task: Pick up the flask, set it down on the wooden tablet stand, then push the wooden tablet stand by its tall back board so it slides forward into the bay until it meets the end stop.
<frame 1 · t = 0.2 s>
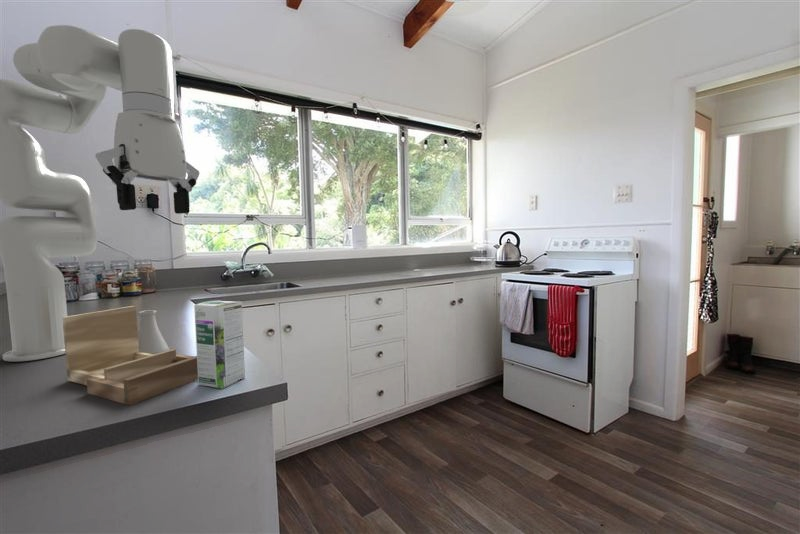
hand: (156, 211, 65), 31 cm above the counter, tool pointing down, fingers open, 9 cm apart
wooden tablet stand: (122, 343, 70), point 6 cm above the counter, slide at 0.0 cm
flask: (150, 355, 83), on the counter
syrup box: (222, 382, 67), on the counter
bay: (155, 382, 67), on the counter
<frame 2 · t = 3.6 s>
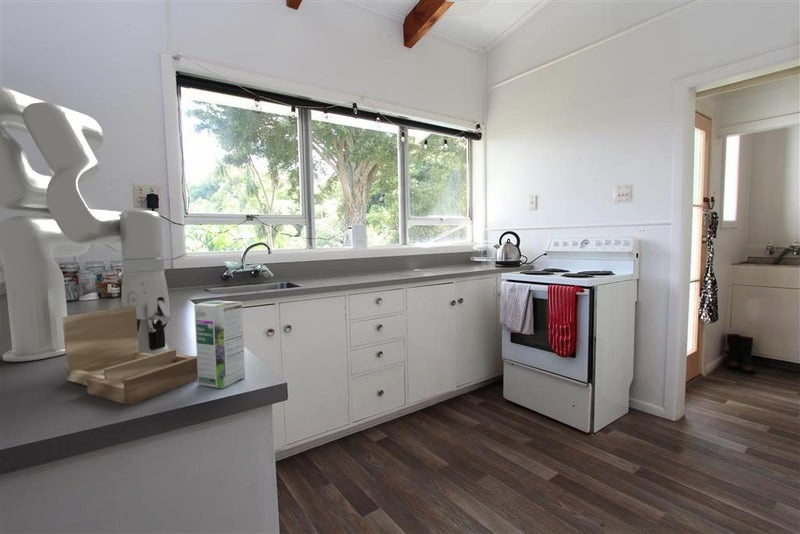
hand: (149, 346, 83), 2 cm above the counter, tool pointing down, fingers closed on flask, 4 cm apart
flask: (150, 355, 83), on the counter, touching gripper
everything else where it was.
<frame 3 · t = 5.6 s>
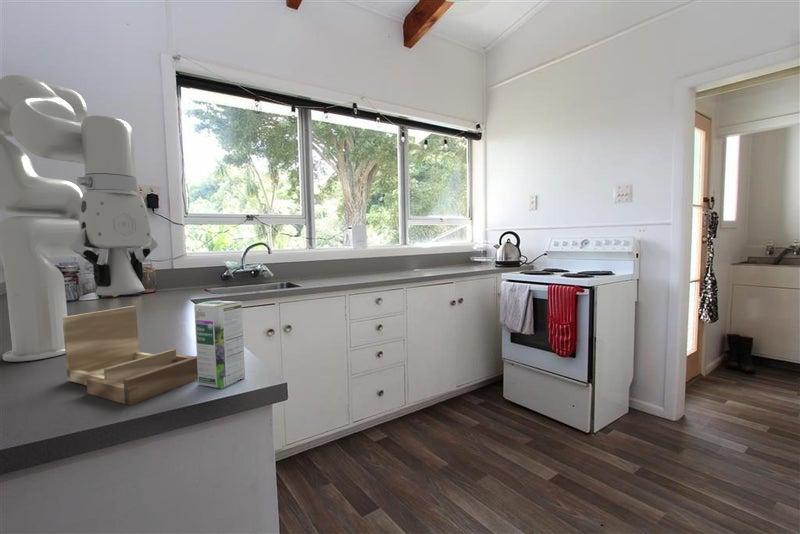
hand: (120, 283, 70), 18 cm above the counter, tool pointing down, fingers closed on flask, 4 cm apart
flask: (121, 294, 70), point 15 cm above the counter, touching gripper
everything else where it was.
when the fingers open (4 cm above the counter, at t = 7.5 s): flask drops 1 cm, resting on wooden tablet stand.
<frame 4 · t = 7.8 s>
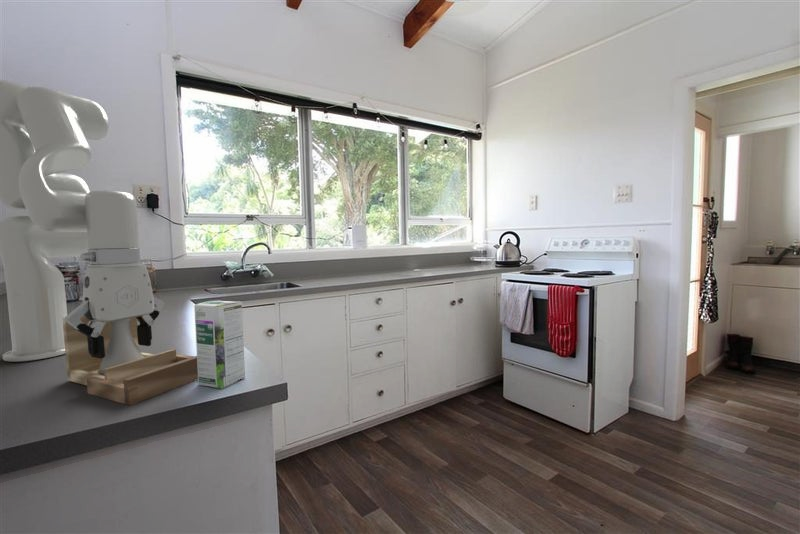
hand: (122, 350, 70), 5 cm above the counter, tool pointing down, fingers open, 7 cm apart
wooden tablet stand: (122, 343, 70), point 6 cm above the counter, slide at 0.0 cm, touching flask
flask: (123, 370, 71), point 1 cm above the counter, touching wooden tablet stand
everything else where it was.
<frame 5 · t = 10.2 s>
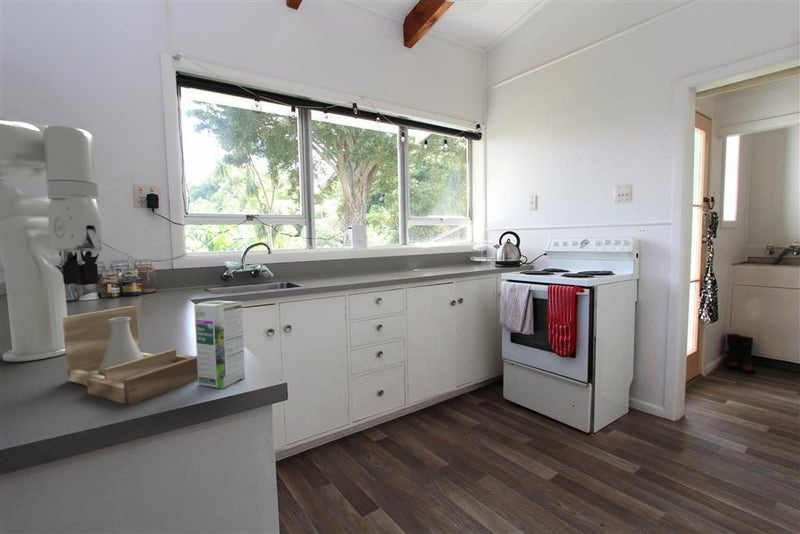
hand: (81, 283, 74), 17 cm above the counter, tool pointing down, fingers open, 4 cm apart
nothing on the counter moved.
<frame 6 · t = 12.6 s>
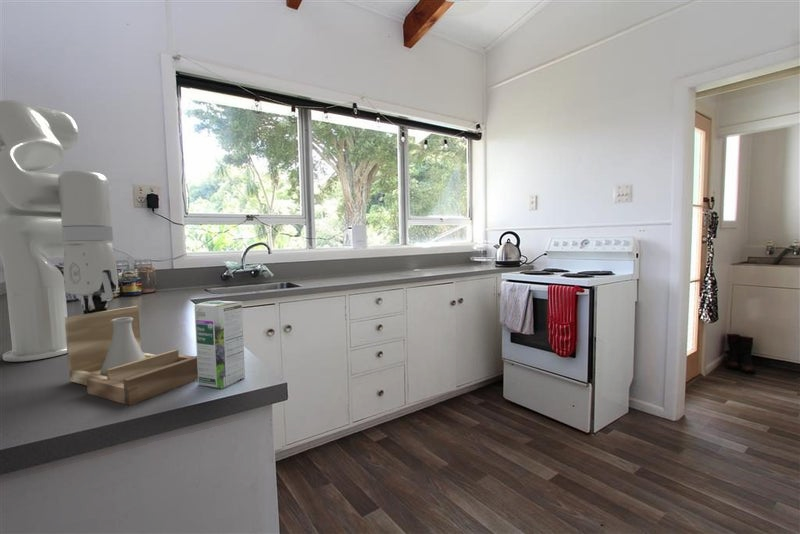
hand: (96, 328, 73), 8 cm above the counter, tool pointing down, fingers closed
wooden tablet stand: (124, 344, 70), point 6 cm above the counter, slide at 0.8 cm, touching gripper, flask
everything else where it was.
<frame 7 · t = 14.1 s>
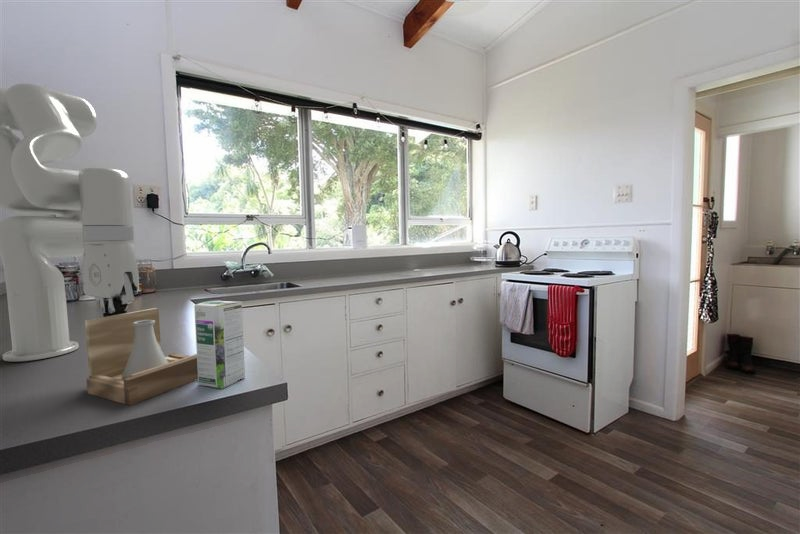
hand: (116, 331, 71), 8 cm above the counter, tool pointing down, fingers closed
wooden tablet stand: (146, 348, 67), point 6 cm above the counter, slide at 7.4 cm, touching gripper, flask
flask: (147, 376, 67), point 1 cm above the counter, touching wooden tablet stand
everything else where it was.
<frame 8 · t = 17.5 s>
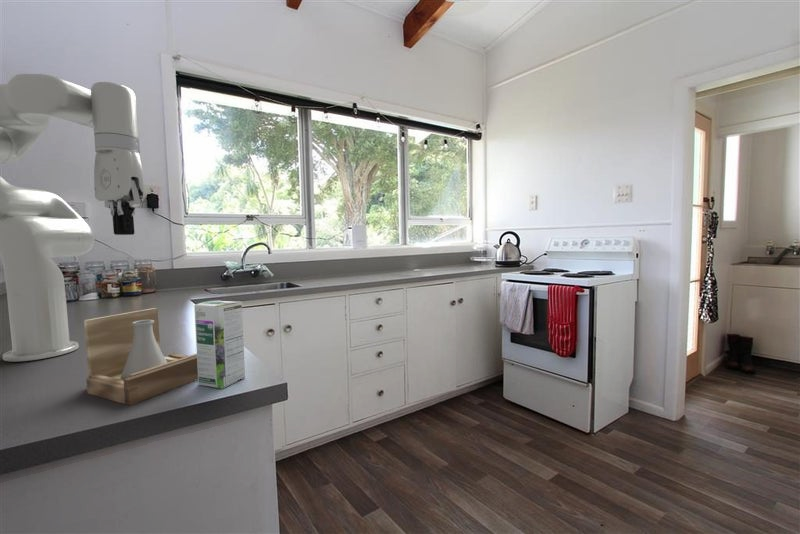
hand: (124, 234, 79), 27 cm above the counter, tool pointing down, fingers closed
wooden tablet stand: (145, 347, 67), point 6 cm above the counter, slide at 7.2 cm, touching flask
everything else where it was.
at the end: flask inside the target area (0.5 cm from its centre), point 0.8 cm above the counter; wooden tablet stand slide at 7.2 cm; flask tilted 0° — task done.
